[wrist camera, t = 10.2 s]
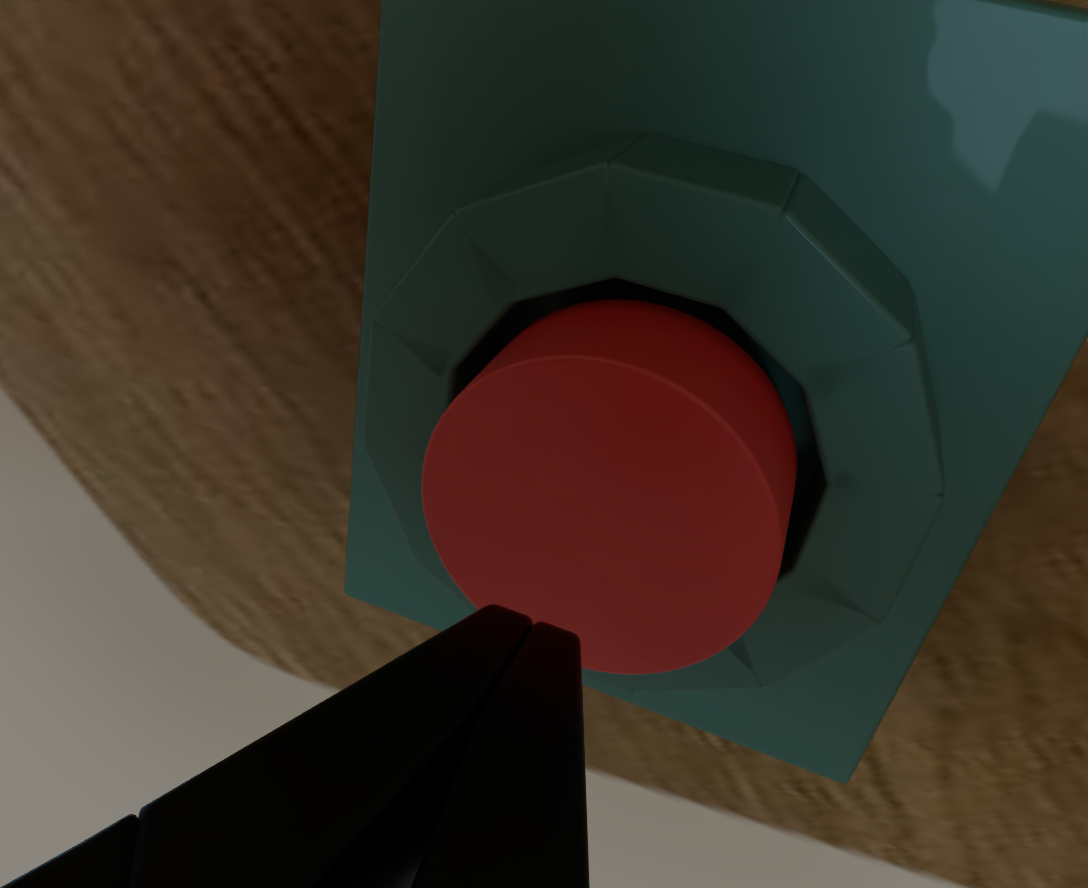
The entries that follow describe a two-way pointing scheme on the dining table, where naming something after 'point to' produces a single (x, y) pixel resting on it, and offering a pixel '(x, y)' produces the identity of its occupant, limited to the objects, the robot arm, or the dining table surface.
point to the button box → (742, 286)
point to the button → (617, 484)
